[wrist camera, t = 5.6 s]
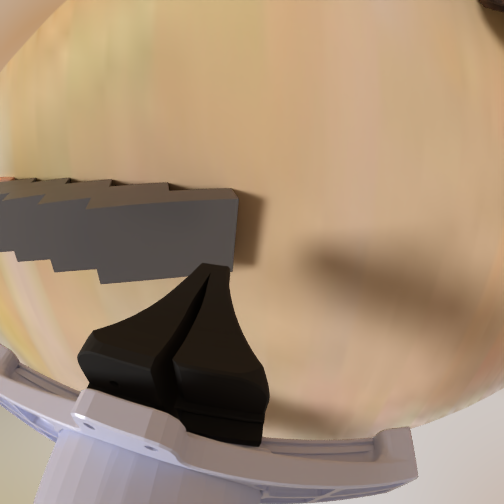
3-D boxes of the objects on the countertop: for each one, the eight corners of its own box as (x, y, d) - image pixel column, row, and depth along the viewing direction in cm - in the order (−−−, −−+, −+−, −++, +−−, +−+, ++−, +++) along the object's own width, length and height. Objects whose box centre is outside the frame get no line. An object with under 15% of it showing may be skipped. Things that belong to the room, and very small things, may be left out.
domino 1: (73, 246, 19) (-8, 252, 16) (77, 235, 20) (-1, 242, 17) (63, 185, 16) (-23, 198, 13) (69, 177, 17) (-14, 190, 14)
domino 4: (232, 271, 18) (100, 284, 16) (226, 257, 20) (103, 268, 17) (238, 198, 16) (85, 209, 13) (231, 188, 17) (91, 197, 14)
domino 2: (115, 254, 18) (17, 261, 16) (117, 242, 20) (24, 249, 17) (108, 187, 16) (1, 200, 13) (111, 179, 17) (10, 191, 14)
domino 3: (171, 262, 18) (54, 272, 16) (169, 249, 20) (59, 258, 17) (169, 191, 16) (37, 204, 13) (167, 182, 17) (45, 194, 14)
